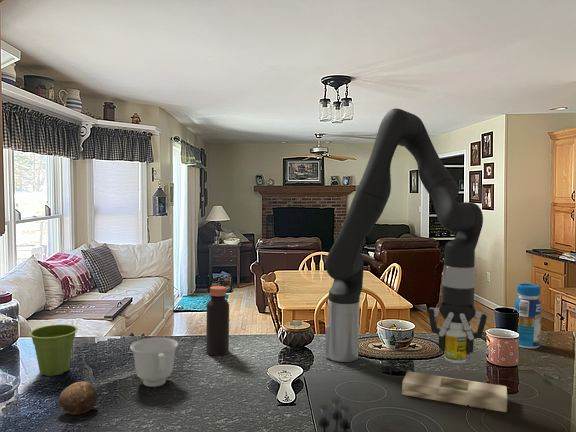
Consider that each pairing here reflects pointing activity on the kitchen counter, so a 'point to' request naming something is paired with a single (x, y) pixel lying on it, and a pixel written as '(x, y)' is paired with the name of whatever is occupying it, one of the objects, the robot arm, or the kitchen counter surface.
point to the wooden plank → (455, 391)
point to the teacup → (154, 359)
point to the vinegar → (217, 322)
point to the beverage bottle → (528, 315)
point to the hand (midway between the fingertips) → (455, 351)
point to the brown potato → (78, 398)
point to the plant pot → (53, 347)
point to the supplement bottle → (456, 343)
